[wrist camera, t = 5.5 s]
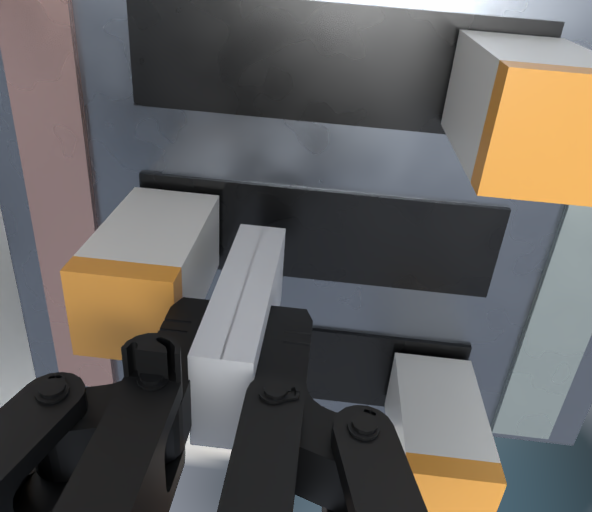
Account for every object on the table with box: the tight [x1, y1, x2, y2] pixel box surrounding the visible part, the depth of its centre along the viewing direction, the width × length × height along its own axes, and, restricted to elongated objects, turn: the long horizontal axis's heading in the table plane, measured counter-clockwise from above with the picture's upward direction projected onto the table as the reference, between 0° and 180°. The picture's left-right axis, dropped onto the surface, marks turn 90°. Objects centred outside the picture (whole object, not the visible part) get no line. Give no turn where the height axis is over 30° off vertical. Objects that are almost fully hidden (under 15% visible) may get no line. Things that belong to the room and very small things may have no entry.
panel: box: [0, 0, 592, 445], centre depth 21 cm, size 24×18×2 cm
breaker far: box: [385, 353, 507, 512], centre depth 20 cm, size 3×3×6 cm
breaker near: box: [441, 29, 592, 207], centre depth 14 cm, size 3×3×6 cm
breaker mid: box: [60, 187, 219, 360], centre depth 18 cm, size 3×3×6 cm
